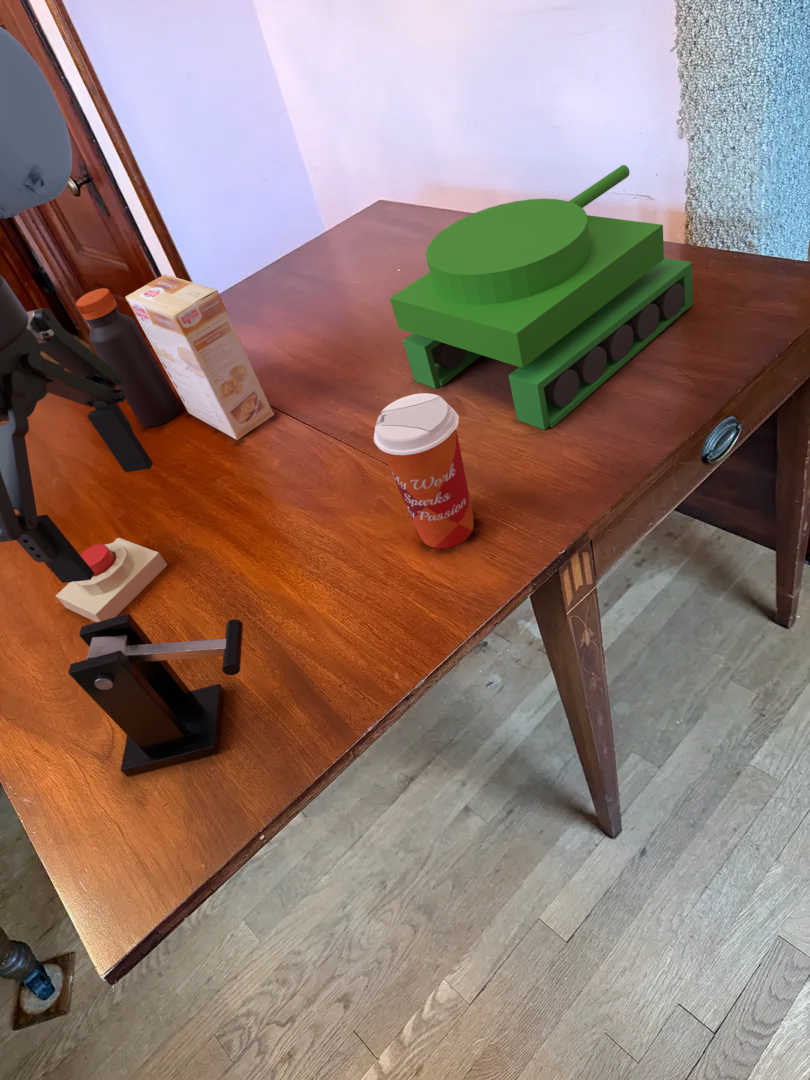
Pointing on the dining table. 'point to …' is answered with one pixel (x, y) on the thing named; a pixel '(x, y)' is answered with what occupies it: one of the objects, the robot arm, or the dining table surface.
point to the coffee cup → (427, 466)
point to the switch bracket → (149, 702)
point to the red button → (98, 558)
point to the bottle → (129, 358)
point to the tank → (542, 299)
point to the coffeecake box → (201, 353)
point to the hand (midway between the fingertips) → (111, 519)
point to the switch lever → (177, 648)
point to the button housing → (114, 582)
